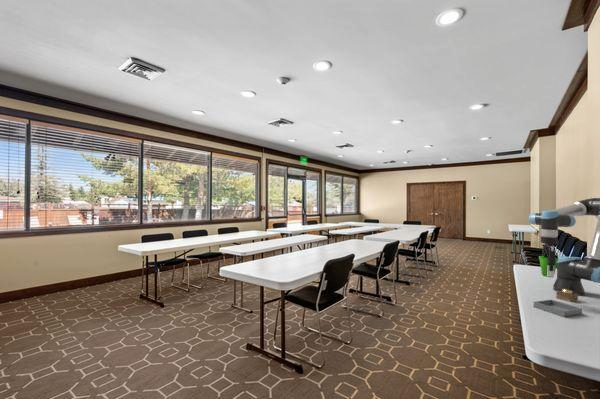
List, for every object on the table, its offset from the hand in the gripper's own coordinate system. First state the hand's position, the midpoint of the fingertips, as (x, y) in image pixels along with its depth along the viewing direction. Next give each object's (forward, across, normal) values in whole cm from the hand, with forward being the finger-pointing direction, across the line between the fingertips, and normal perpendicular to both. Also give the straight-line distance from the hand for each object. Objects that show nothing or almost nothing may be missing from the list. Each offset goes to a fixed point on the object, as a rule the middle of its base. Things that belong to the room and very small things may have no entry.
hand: (548, 274), depth 166 cm
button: (+13, -12, +12) cm, 21 cm away
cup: (+1, 0, 0) cm, 1 cm away
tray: (+16, +16, 0) cm, 22 cm away
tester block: (+16, -12, +12) cm, 23 cm away
